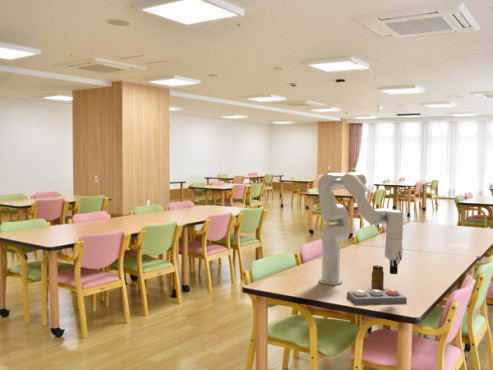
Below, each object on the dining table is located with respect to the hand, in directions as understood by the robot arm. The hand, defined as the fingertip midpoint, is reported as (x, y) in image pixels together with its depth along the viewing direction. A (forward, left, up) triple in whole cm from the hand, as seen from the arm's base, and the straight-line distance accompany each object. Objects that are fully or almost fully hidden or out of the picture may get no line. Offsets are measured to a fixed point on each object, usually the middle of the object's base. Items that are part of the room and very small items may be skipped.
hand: (393, 273), depth 222 cm
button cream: (0, -17, -11) cm, 20 cm away
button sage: (0, -8, -11) cm, 13 cm away
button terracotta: (0, 0, -11) cm, 11 cm away
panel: (0, -8, -13) cm, 15 cm away
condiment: (-17, 0, -13) cm, 21 cm away
